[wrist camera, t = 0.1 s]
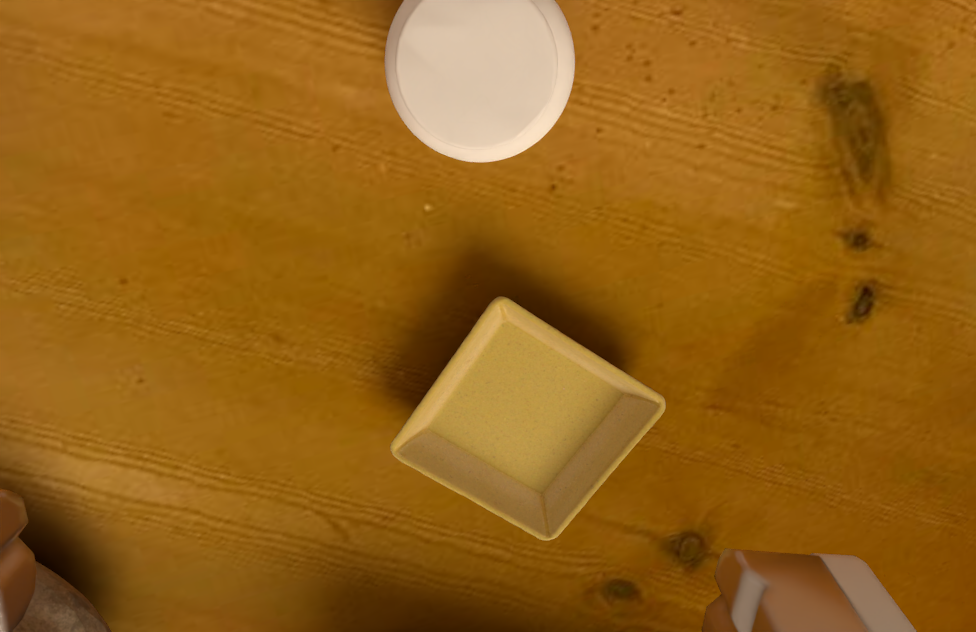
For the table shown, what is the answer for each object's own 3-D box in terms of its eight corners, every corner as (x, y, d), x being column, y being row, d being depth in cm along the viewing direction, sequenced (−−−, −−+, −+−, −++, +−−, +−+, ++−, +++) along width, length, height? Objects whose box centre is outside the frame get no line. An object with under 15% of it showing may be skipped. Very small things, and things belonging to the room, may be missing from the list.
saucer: (662, 381, 30) (673, 404, 28) (547, 518, 33) (550, 547, 31) (498, 275, 29) (498, 291, 27) (391, 428, 31) (384, 452, 29)
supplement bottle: (489, 168, 27) (485, 223, 18) (382, 71, 26) (320, 77, 17) (586, 59, 26) (634, 57, 17) (477, -49, 24) (465, -115, 15)
